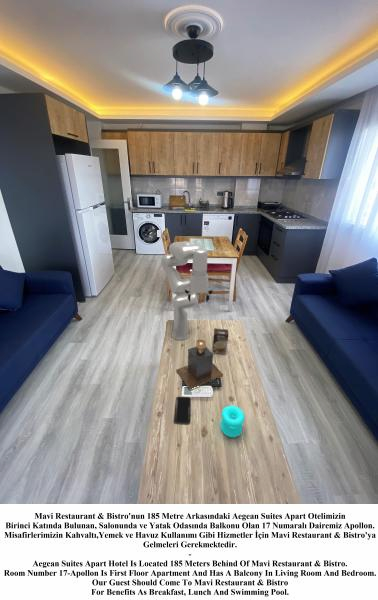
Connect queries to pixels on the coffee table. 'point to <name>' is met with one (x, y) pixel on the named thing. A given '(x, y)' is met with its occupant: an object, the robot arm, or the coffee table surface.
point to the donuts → (232, 421)
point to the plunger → (200, 346)
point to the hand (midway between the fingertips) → (198, 300)
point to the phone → (182, 410)
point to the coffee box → (220, 341)
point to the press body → (199, 368)
